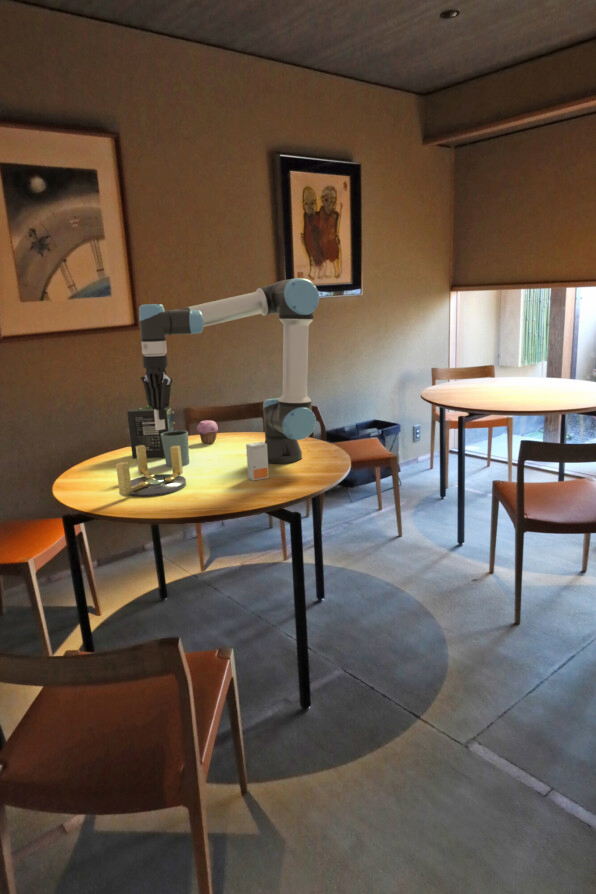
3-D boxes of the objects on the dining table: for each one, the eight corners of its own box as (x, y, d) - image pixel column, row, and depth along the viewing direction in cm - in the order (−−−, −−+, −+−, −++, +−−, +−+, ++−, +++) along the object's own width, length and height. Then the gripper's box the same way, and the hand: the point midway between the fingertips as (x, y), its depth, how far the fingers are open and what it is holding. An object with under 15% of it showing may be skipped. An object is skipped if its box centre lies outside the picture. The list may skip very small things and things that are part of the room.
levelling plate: (198, 481, 204) (197, 474, 204) (157, 499, 187) (156, 492, 187) (153, 476, 214) (153, 469, 213) (110, 492, 197) (109, 485, 197)
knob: (155, 478, 204) (152, 450, 202) (147, 480, 203) (144, 452, 200) (146, 471, 213) (143, 444, 211) (138, 473, 212) (135, 446, 210)
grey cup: (182, 468, 223) (178, 436, 220) (158, 466, 226) (155, 435, 223) (195, 461, 232) (193, 430, 229) (172, 459, 235) (169, 429, 233)
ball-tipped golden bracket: (143, 484, 198) (140, 455, 196) (150, 485, 197) (147, 456, 194) (119, 494, 189) (115, 464, 187) (126, 495, 188) (122, 464, 185)
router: (174, 457, 240) (169, 406, 235) (129, 459, 240) (123, 409, 235) (179, 452, 247) (174, 403, 243) (134, 454, 248) (129, 405, 243)
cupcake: (194, 443, 261) (192, 420, 259) (211, 439, 267) (209, 417, 264) (206, 446, 255) (204, 423, 252) (223, 442, 260) (221, 419, 258)
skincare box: (252, 481, 202) (250, 446, 199) (247, 478, 206) (245, 443, 203) (269, 478, 205) (267, 443, 202) (264, 475, 208) (262, 441, 205)
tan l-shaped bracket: (172, 482, 199) (169, 453, 196) (164, 482, 199) (161, 453, 197) (183, 473, 209) (180, 445, 207) (175, 473, 209) (172, 445, 207)
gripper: (131, 355, 191) (138, 429, 196) (157, 356, 183) (163, 433, 188) (151, 353, 196) (157, 425, 202) (177, 354, 188) (182, 429, 193)
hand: (160, 429), depth 195 cm, fingers closed
